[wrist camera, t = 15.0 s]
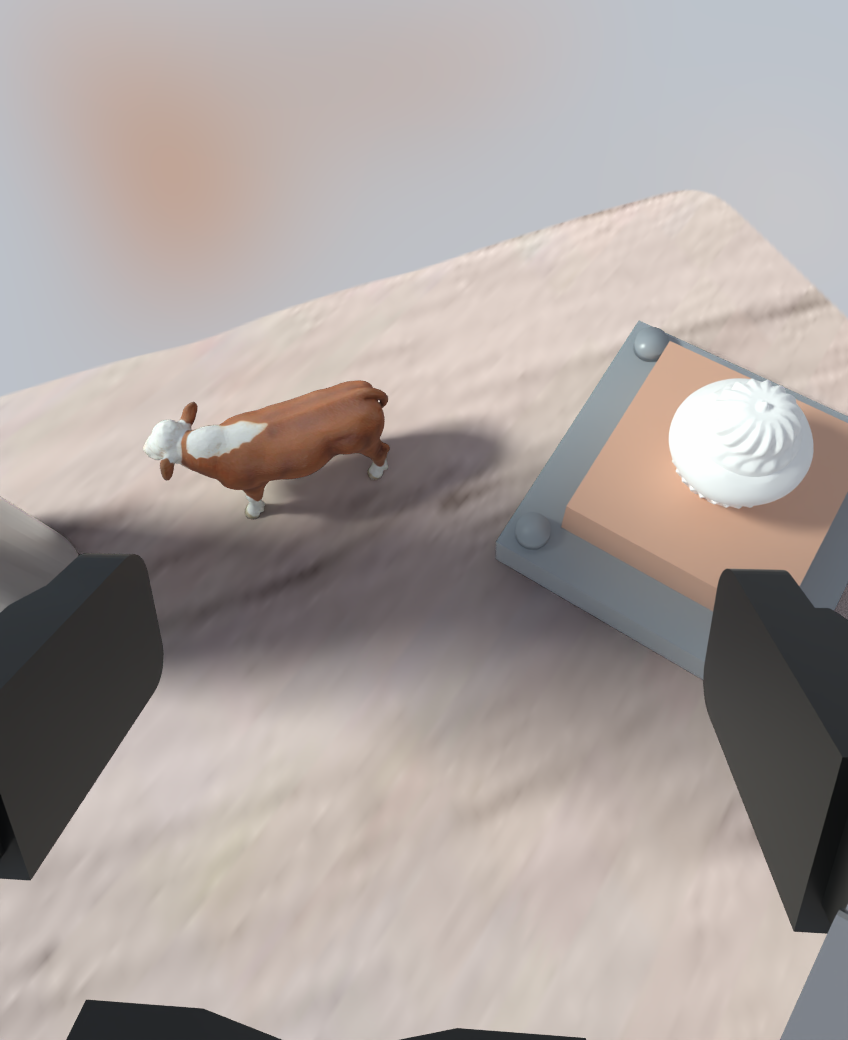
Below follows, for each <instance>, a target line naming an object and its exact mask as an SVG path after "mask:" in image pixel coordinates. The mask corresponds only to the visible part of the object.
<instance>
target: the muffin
mask: <svg viewBox="0 0 848 1040" xmlns="http://www.w3.org/2000/svg"><path fill="white" fill-rule="evenodd" d="M669 448H670V452H671V456H672V459H673V460H672V462H673V464H674V465H675V466H676V468H677V469H676V473H677V474H678V475H679V476H680V477H681V478H682V482H683V483H684V484H685V485H686V486H688V487H689V488H690V491H692V492H693V493H694V494H698V495H699V497H700V498H705V499H706V500H707V501H708V502H710V503H712V504H714V505H715V504H718V505H720V506H723V507H725V508H727V507H729V506H730V507H734V508H738V509H740V508H741V507H742V506H744V507H749V508H751V507H753V506H756V505H762V504H767V503H770V502H773V501H776V500H778V499H780V498H782V497H784V496H786V495H787V494H789V493H790V492H791V491H792V490H794V489H795V488H796V487H797V486H798V485H799V484H800V482H801V481H802V480H803V478H804V477H805V475H806V474H807V472H808V470H809V468H810V465H811V462H812V458H813V437H812V432H811V429H810V426H809V423H808V421H807V419H806V416H805V415H804V413H803V411H802V410H801V408H800V407H799V406H798V404H797V403H796V399H795V397H794V396H793V395H791V394H787V393H786V390H785V388H784V387H783V386H780V385H779V386H772V383H771V381H770V380H765V381H763V382H761V381H757V380H755V379H753V378H752V379H744V378H733V379H726V380H721V381H717V382H714V383H711V384H708V385H706V386H704V387H702V388H700V389H698V390H697V391H695V392H693V393H692V394H691V395H690V396H688V397H687V398H686V399H685V400H684V401H683V403H682V404H681V405H680V406H679V408H678V409H677V411H676V413H675V415H674V417H673V419H672V422H671V425H670V430H669Z"/></svg>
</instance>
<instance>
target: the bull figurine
mask: <svg viewBox="0 0 848 1040" xmlns="http://www.w3.org/2000/svg"><path fill="white" fill-rule="evenodd" d="M378 400H380V402H378ZM387 402H388V396H387V395H386V394H385V393H384V392H383V391H381V390H379V389H375V388H373V387H372V385H371V384H370V383H368V382H366V381H348V382H344V383H340V384H338V385H335V386H333V387H329V388H326V389H321V390H316V391H313V392H311V393H308V394H305V395H302V396H300V397H297V398H294V399H291V400H288V401H284V402H281V403H277V404H274V405H270V406H267V407H265V408H262V409H259V410H256V411H251V412H246V413H242V414H239V415H236V416H233V417H231V418H229V419H227V420H226V421H225V422H223V423H222V424H220V425H208V426H204V427H201V428H198V429H195V430H191V426H192V424H193V422H194V420H195V417H196V413H197V404H196V403H195V402H191V403H189V404H188V405H187V406H186V407H185V408H184V409H183V413H182V416H181V419H180V420H179V421H178V422H176V421H174V420H164V421H161V422H160V423H158V424H157V425H156V426H155V427H154V429H153V431H152V434H151V435H150V436H149V437H148V439H147V441H146V443H145V445H144V448H143V449H144V451H145V453H146V454H147V455H148V456H149V457H150V458H152V459H155V460H160V459H162V460H161V462H160V469H161V474H162V476H163V478H164V480H170V478H171V477H172V474H173V470H174V464H175V463H176V464H181V465H182V466H184V467H186V468H188V469H191V470H192V471H195V472H198V473H200V474H202V475H205V476H208V477H210V478H214V479H217V480H218V481H219V482H221V484H222V485H223V486H225V487H227V488H230V489H234V490H243V491H244V492H245V493H246V498H247V500H248V501H249V504H248V506H247V507H246V509H245V515H246V517H247V518H250V519H255V518H257V517H259V515H260V512H263V511H264V505H265V503H264V501H262V500H261V499H262V497H263V492H264V488H265V486H266V484H267V483H268V482H269V481H272V480H280V479H295V478H300V477H304V476H308V475H310V474H312V473H314V472H316V471H318V470H319V469H320V468H322V467H323V466H324V465H325V464H326V463H327V462H328V461H329V460H330V459H332V458H333V457H334V456H336V455H338V454H352V453H361V454H363V455H365V456H367V457H370V458H371V459H372V461H373V463H372V465H371V466H370V468H369V469H368V475H369V478H370V479H372V480H376V479H379V478H381V476H382V475H383V470H386V469H388V464H387V461H386V458H387V453H388V451H389V450H390V447H389V445H388V444H386V443H383V442H382V441H381V440H380V436H381V434H382V431H383V428H384V420H385V419H384V413H383V410H382V408H383V407H384V406H385V405H386V404H387Z"/></svg>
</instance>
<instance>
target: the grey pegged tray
mask: <svg viewBox="0 0 848 1040" xmlns="http://www.w3.org/2000/svg"><path fill="white" fill-rule="evenodd" d="M733 378H744V379H752V378H753V379H755V380H757V381H761V382H763V381H765V380H767V379H765V378H763V377H761V376H758V375H756V374H754V373H752V372H750V371H748V370H745V369H743V368H741V367H739V366H737V365H734V364H732V363H730V362H728V361H726V360H724V359H721V358H719V357H717V356H715V355H713V354H711V353H708V352H706V351H704V350H702V349H700V348H698V347H695V346H693V345H691V344H689V343H687V342H684V341H682V340H680V339H678V338H676V337H674V336H671V335H669V334H667V333H665V332H664V331H663V330H661V329H659V328H656V327H652V326H650V325H648V324H645V323H643V322H641V321H638V323H637V324H636V326H635V327H634V329H633V330H632V332H631V333H630V335H629V337H628V338H627V340H626V341H625V343H624V344H623V346H622V347H621V349H620V350H619V352H618V354H617V355H616V357H615V358H614V360H613V361H612V363H611V364H610V366H609V367H608V369H607V371H606V372H605V374H604V375H603V377H602V378H601V380H600V381H599V383H598V385H597V386H596V388H595V389H594V391H593V392H592V394H591V395H590V397H589V398H588V400H587V402H586V403H585V405H584V406H583V408H582V409H581V411H580V412H579V414H578V415H577V417H576V419H575V420H574V422H573V423H572V425H571V426H570V428H569V429H568V431H567V433H566V434H565V436H564V437H563V439H562V440H561V442H560V443H559V445H558V446H557V448H556V450H555V451H554V453H553V454H552V456H551V457H550V459H549V460H548V462H547V463H546V465H545V467H544V468H543V470H542V471H541V473H540V474H539V476H538V477H537V479H536V481H535V482H534V484H533V485H532V487H531V488H530V490H529V491H528V493H527V494H526V496H525V498H524V499H523V501H522V502H521V504H520V505H519V507H518V508H517V510H516V511H515V513H514V515H513V516H512V518H511V519H510V521H509V522H508V524H507V525H506V527H505V529H504V530H503V532H502V533H501V535H500V536H499V538H498V539H497V541H496V559H497V560H498V561H500V562H502V563H503V564H505V565H507V566H509V567H510V568H512V569H514V570H515V571H517V572H519V573H521V574H522V575H524V576H526V577H527V578H529V579H531V580H533V581H534V582H536V583H538V584H539V585H541V586H543V587H545V588H546V589H548V590H550V591H551V592H553V593H555V594H557V595H558V596H560V597H562V598H563V599H565V600H567V601H569V602H570V603H572V604H574V605H575V606H577V607H579V608H581V609H582V610H584V611H586V612H587V613H589V614H591V615H593V616H594V617H596V618H598V619H599V620H601V621H603V622H605V623H606V624H608V625H610V626H611V627H613V628H615V629H617V630H618V631H620V632H622V633H623V634H625V635H627V636H629V637H630V638H632V639H634V640H635V641H637V642H639V643H641V644H642V645H644V646H646V647H647V648H649V649H651V650H653V651H654V652H656V653H658V654H659V655H661V656H663V657H665V658H666V659H668V660H670V661H671V662H673V663H675V664H677V665H678V666H680V667H682V668H683V669H685V670H687V671H689V672H690V673H692V674H694V675H695V676H697V677H699V678H701V679H702V680H703V674H704V664H705V657H706V651H707V645H708V639H709V633H710V627H711V621H712V615H713V609H714V603H715V597H716V591H717V586H718V581H719V578H720V576H721V574H722V572H723V571H724V570H725V569H771V570H786V571H788V572H789V573H790V574H791V576H792V577H793V578H794V580H795V581H796V583H797V584H798V585H799V587H800V588H801V589H802V591H803V592H804V593H805V595H806V596H807V598H808V599H809V600H810V602H811V603H812V604H813V606H814V607H815V608H830V609H832V610H835V608H836V606H837V604H838V602H839V600H840V598H841V596H842V594H843V592H844V590H845V588H846V585H847V583H848V416H845V415H843V414H841V413H839V412H837V411H835V410H832V409H830V408H828V407H826V406H824V405H821V404H819V403H817V402H815V401H813V400H811V399H808V398H806V397H804V396H802V395H800V394H798V393H795V392H793V391H791V390H789V389H787V388H785V387H784V388H785V390H786V393H787V394H791V395H793V396H794V397H795V399H796V403H797V404H798V406H799V407H800V408H801V410H802V411H803V413H804V415H805V416H806V419H807V421H808V423H809V426H810V429H811V432H812V437H813V458H812V462H811V465H810V468H809V470H808V472H807V474H806V475H805V477H804V478H803V480H802V481H801V482H800V484H799V485H798V486H797V487H796V488H795V489H794V490H792V491H791V492H790V493H789V494H787V495H786V496H784V497H782V498H780V499H778V500H776V501H773V502H770V503H767V504H762V505H756V506H753V507H751V508H749V507H744V506H742V507H741V508H740V509H738V508H734V507H730V506H729V507H727V508H725V507H723V506H720V505H718V504H715V505H714V504H712V503H710V502H708V501H707V500H706V499H705V498H700V497H699V495H698V494H694V493H693V492H692V491H690V488H689V487H688V486H686V485H685V484H684V483H683V482H682V478H681V477H680V476H679V475H678V474H677V473H676V469H677V468H676V466H675V465H674V464H673V462H672V460H673V459H672V456H671V452H670V448H669V430H670V425H671V422H672V419H673V417H674V415H675V413H676V411H677V409H678V408H679V406H680V405H681V404H682V403H683V401H684V400H685V399H686V398H687V397H688V396H690V395H691V394H692V393H693V392H695V391H697V390H698V389H700V388H702V387H704V386H706V385H708V384H711V383H714V382H717V381H721V380H726V379H733ZM771 383H772V386H779V385H778V384H776V383H774V382H771Z"/></svg>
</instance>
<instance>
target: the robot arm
mask: <svg viewBox="0 0 848 1040" xmlns="http://www.w3.org/2000/svg"><path fill="white" fill-rule="evenodd" d="M162 668H163V645H162V640H161V635H160V630H159V625H158V620H157V615H156V610H155V605H154V600H153V595H152V591H151V586H150V581H149V576H148V571H147V568H146V565H145V563H144V561H143V560H142V558H141V557H140V556H138V555H135V554H99V553H84V554H81V555H78V553H77V551H76V549H75V548H74V547H73V545H72V544H71V543H70V542H69V541H68V540H67V539H66V538H65V537H64V536H62V535H61V534H59V533H58V532H56V531H55V530H53V529H52V528H50V527H49V526H47V525H45V524H44V523H42V522H41V521H39V520H37V519H36V518H34V517H33V516H31V515H29V514H28V513H26V512H25V511H23V510H22V509H20V508H18V507H17V506H15V505H14V504H12V503H10V502H9V501H7V500H6V499H4V498H2V497H1V496H0V878H1V879H17V880H31V879H32V878H33V876H34V874H35V873H36V871H37V870H38V868H39V867H40V865H41V864H42V862H43V861H44V859H45V858H46V856H47V855H48V853H49V852H50V850H51V849H52V847H53V846H54V844H55V842H56V841H57V839H58V838H59V836H60V835H61V833H62V832H63V830H64V829H65V827H66V826H67V824H68V823H69V821H70V820H71V818H72V817H73V815H74V814H75V812H76V810H77V809H78V807H79V806H80V804H81V803H82V801H83V800H84V798H85V797H86V795H87V794H88V792H89V791H90V789H91V788H92V786H93V785H94V783H95V782H96V780H97V778H98V777H99V775H100V774H101V772H102V771H103V769H104V768H105V766H106V765H107V763H108V762H109V760H110V759H111V757H112V756H113V754H114V753H115V751H116V749H117V748H118V746H119V745H120V743H121V742H122V740H123V739H124V737H125V736H126V734H127V733H128V731H129V730H130V728H131V727H132V725H133V724H134V722H135V721H136V719H137V717H138V716H139V714H140V713H141V711H142V710H143V708H144V707H145V705H146V704H147V702H148V701H149V699H150V698H151V696H152V695H153V693H154V692H155V690H156V688H157V686H158V683H159V681H160V677H161V673H162ZM703 685H704V696H705V703H706V707H707V711H708V714H709V717H710V719H711V722H712V724H713V727H714V729H715V732H716V734H717V737H718V740H719V742H720V745H721V747H722V750H723V752H724V755H725V757H726V760H727V763H728V765H729V768H730V770H731V773H732V775H733V778H734V780H735V783H736V785H737V788H738V791H739V793H740V796H741V798H742V801H743V803H744V806H745V808H746V811H747V813H748V816H749V819H750V821H751V824H752V826H753V829H754V831H755V834H756V836H757V839H758V841H759V844H760V847H761V849H762V852H763V854H764V857H765V859H766V862H767V864H768V867H769V869H770V872H771V875H772V877H773V880H774V882H775V885H776V887H777V890H778V892H779V895H780V897H781V900H782V903H783V905H784V908H785V910H786V913H787V915H788V918H789V920H790V923H791V926H792V928H793V931H795V932H811V933H827V936H826V938H825V940H824V943H823V945H822V947H821V949H820V952H819V954H818V956H817V958H816V960H815V963H814V965H813V967H812V969H811V972H810V974H809V976H808V978H807V981H806V983H805V985H804V987H803V990H802V992H801V994H800V996H799V998H798V1001H797V1003H796V1005H795V1007H794V1010H793V1012H792V1014H791V1016H790V1019H789V1021H788V1023H787V1025H786V1028H785V1030H784V1032H783V1034H782V1036H781V1039H780V1040H848V620H847V619H846V618H844V617H843V616H841V615H840V614H838V613H837V612H835V611H834V610H832V609H830V608H815V607H814V606H813V604H812V603H811V602H810V600H809V599H808V598H807V596H806V595H805V593H804V592H803V591H802V589H801V588H800V587H799V585H798V584H797V583H796V581H795V580H794V578H793V577H792V576H791V574H790V573H789V572H788V571H786V570H771V569H725V570H724V571H723V572H722V574H721V576H720V578H719V581H718V586H717V591H716V597H715V603H714V609H713V615H712V621H711V627H710V633H709V639H708V645H707V651H706V657H705V664H704V674H703ZM66 1040H281V1039H279V1038H276V1037H274V1036H271V1035H269V1034H266V1033H263V1032H261V1031H258V1030H256V1029H253V1028H251V1027H248V1026H246V1025H243V1024H241V1023H238V1022H236V1021H233V1020H231V1019H228V1018H226V1017H223V1016H221V1015H218V1014H216V1013H213V1012H210V1011H208V1010H205V1009H201V1008H188V1007H175V1006H162V1005H149V1004H136V1003H123V1002H110V1001H97V1000H86V1001H85V1003H84V1005H83V1007H82V1009H81V1011H80V1013H79V1015H78V1017H77V1019H76V1021H75V1023H74V1025H73V1027H72V1029H71V1031H70V1033H69V1035H68V1037H67V1039H66ZM401 1040H586V1038H578V1037H565V1036H552V1035H539V1034H526V1033H513V1032H500V1031H487V1030H474V1029H461V1028H456V1029H451V1030H446V1031H441V1032H436V1033H431V1034H426V1035H421V1036H416V1037H411V1038H406V1039H401Z"/></svg>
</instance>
